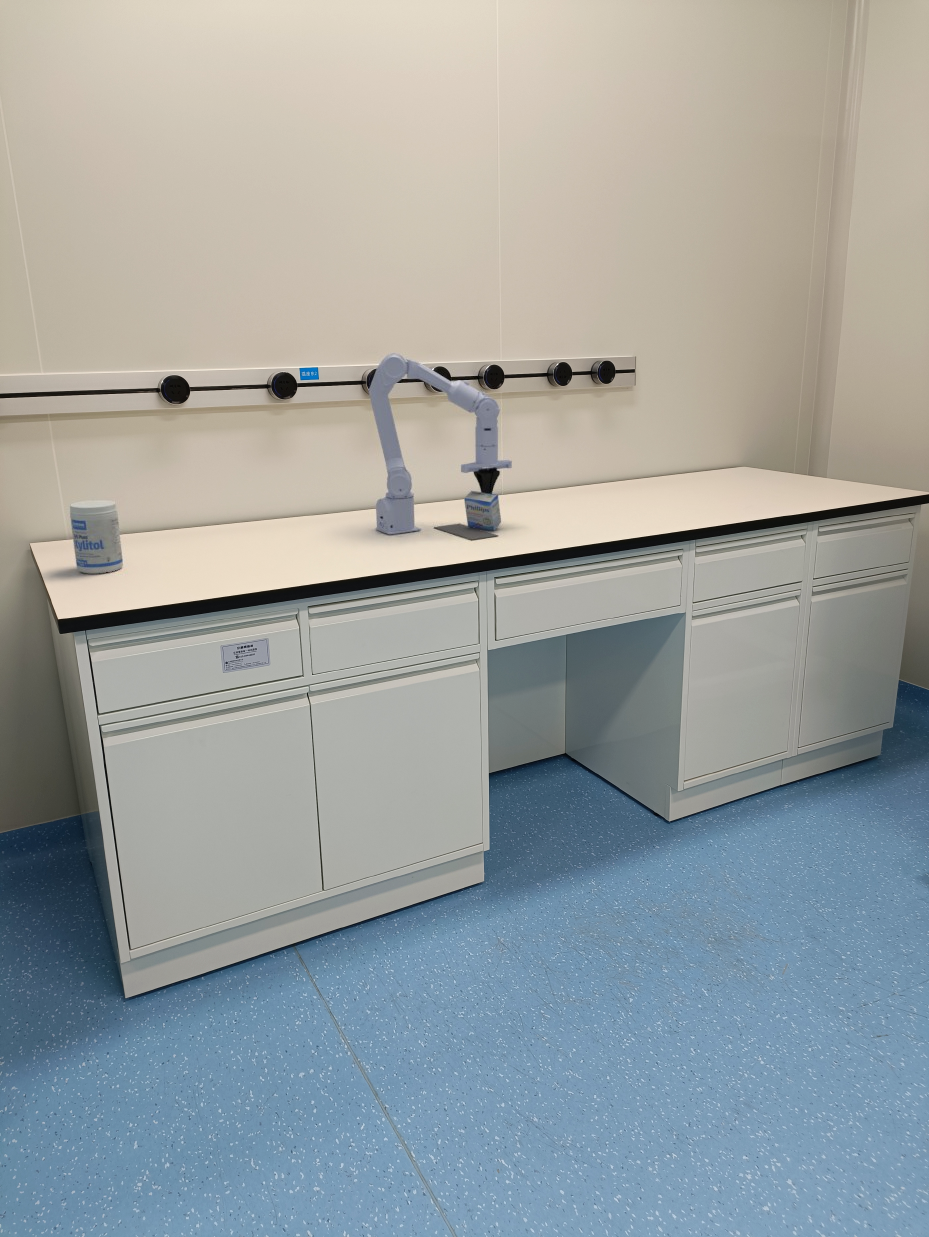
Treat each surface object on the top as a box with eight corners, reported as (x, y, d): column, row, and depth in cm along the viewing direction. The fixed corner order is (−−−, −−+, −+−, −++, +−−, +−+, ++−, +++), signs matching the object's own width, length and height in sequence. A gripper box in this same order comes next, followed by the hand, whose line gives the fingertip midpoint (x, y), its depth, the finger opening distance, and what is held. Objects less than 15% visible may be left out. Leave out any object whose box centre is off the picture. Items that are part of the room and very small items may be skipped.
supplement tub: (73, 576, 192) (63, 508, 188) (82, 565, 201) (72, 500, 197) (120, 573, 194) (111, 506, 190) (127, 563, 203) (119, 498, 198)
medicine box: (467, 526, 234) (463, 498, 229) (475, 518, 237) (470, 489, 232) (494, 531, 231) (490, 502, 226) (501, 522, 234) (498, 493, 229)
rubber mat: (471, 540, 221) (471, 539, 221) (433, 528, 235) (433, 527, 235) (498, 536, 225) (498, 535, 225) (459, 524, 239) (459, 523, 239)
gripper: (471, 448, 221) (472, 503, 225) (518, 444, 229) (518, 497, 233) (456, 446, 227) (456, 499, 231) (502, 442, 235) (502, 493, 239)
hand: (486, 498), depth 232 cm, fingers closed
